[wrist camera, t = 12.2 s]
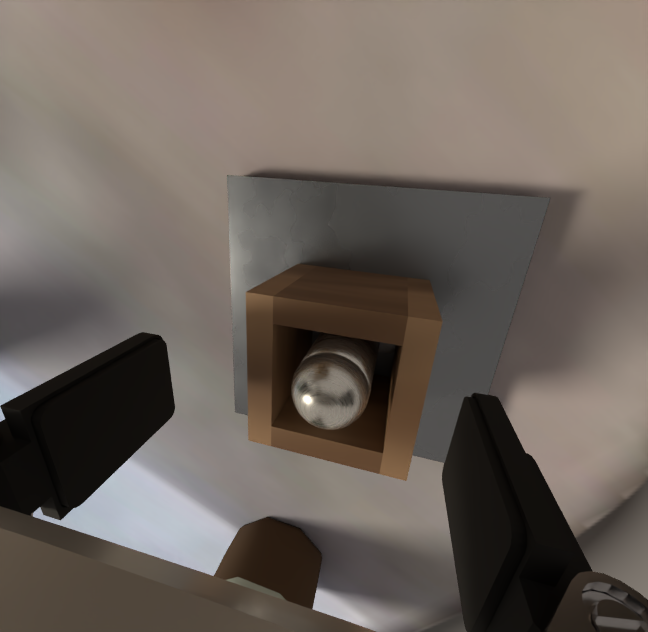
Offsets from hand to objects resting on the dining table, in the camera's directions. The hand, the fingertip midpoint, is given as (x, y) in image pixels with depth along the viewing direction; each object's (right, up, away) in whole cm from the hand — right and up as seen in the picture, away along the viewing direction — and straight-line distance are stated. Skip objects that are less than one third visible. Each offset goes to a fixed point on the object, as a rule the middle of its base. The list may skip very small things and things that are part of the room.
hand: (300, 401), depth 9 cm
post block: (+3, +2, +8) cm, 8 cm away
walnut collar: (+2, +2, +6) cm, 7 cm away
